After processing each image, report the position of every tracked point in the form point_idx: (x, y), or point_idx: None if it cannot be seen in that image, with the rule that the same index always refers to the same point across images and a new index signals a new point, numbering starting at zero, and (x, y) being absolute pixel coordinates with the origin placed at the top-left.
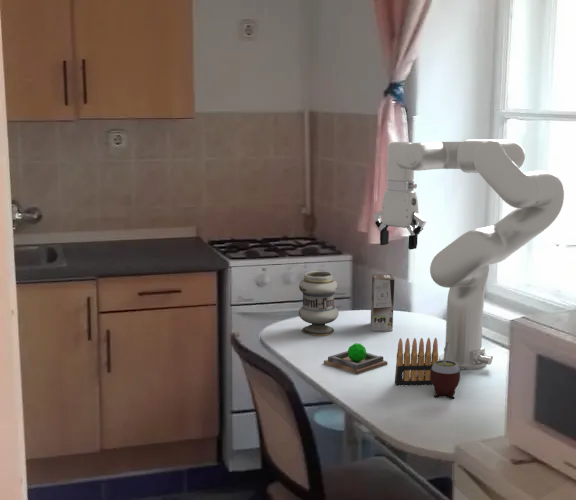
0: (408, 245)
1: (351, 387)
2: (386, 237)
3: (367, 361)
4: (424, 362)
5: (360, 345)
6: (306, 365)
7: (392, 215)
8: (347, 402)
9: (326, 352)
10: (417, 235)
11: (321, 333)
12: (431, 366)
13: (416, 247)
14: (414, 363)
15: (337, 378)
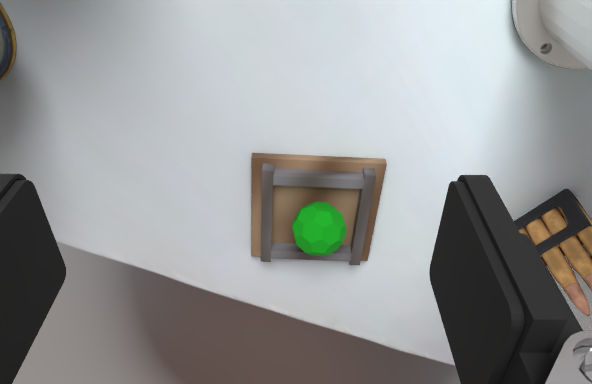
0: (439, 304)
1: (403, 311)
2: (5, 280)
3: (363, 229)
4: (563, 252)
5: (332, 245)
6: (232, 279)
7: None
8: (439, 357)
9: (182, 185)
10: (588, 341)
11: (5, 65)
12: (581, 243)
13: (486, 176)
14: None
15: (346, 294)
